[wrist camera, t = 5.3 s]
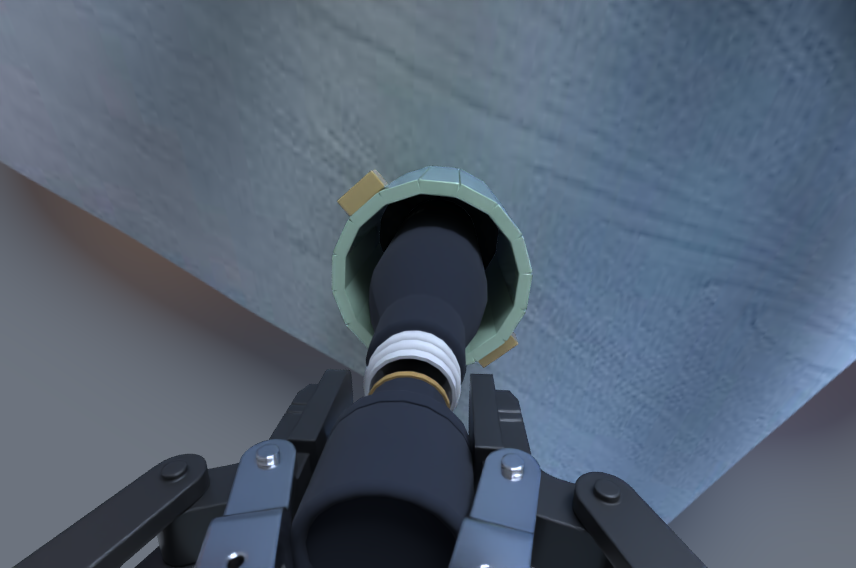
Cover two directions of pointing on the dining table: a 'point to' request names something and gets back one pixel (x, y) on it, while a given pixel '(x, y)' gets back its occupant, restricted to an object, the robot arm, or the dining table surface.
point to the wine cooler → (364, 251)
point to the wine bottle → (403, 410)
